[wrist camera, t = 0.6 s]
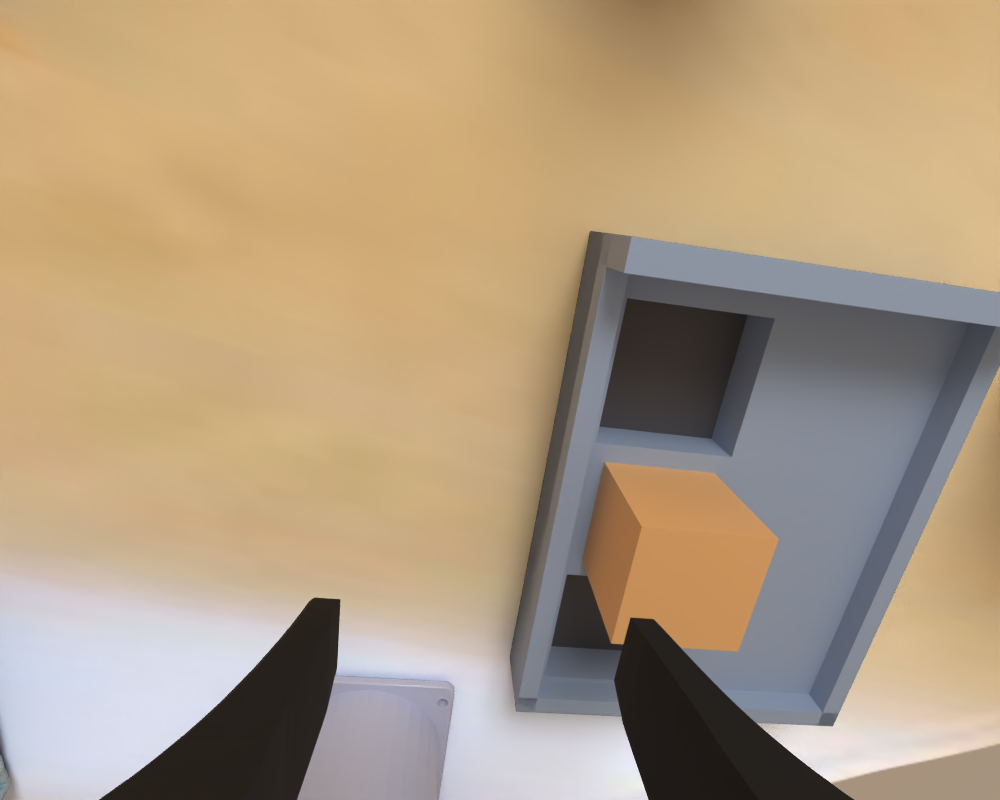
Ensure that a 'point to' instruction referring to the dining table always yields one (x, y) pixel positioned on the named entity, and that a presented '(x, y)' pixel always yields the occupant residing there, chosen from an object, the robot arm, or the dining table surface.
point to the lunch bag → (3, 780)
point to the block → (675, 555)
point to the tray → (754, 453)
